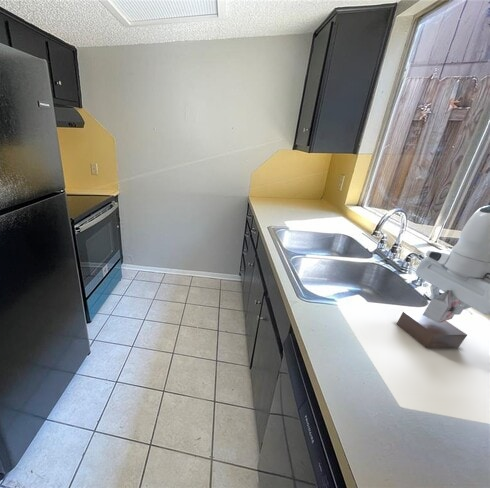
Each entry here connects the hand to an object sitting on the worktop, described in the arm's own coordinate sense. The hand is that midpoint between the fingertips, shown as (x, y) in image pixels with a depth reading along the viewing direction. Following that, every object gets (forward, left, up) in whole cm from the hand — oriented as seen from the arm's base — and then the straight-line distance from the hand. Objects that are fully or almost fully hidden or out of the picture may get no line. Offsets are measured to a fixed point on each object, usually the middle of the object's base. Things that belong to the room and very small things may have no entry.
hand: (443, 306), depth 75 cm
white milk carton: (0, 0, -4) cm, 4 cm away
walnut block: (0, 0, -11) cm, 11 cm away
